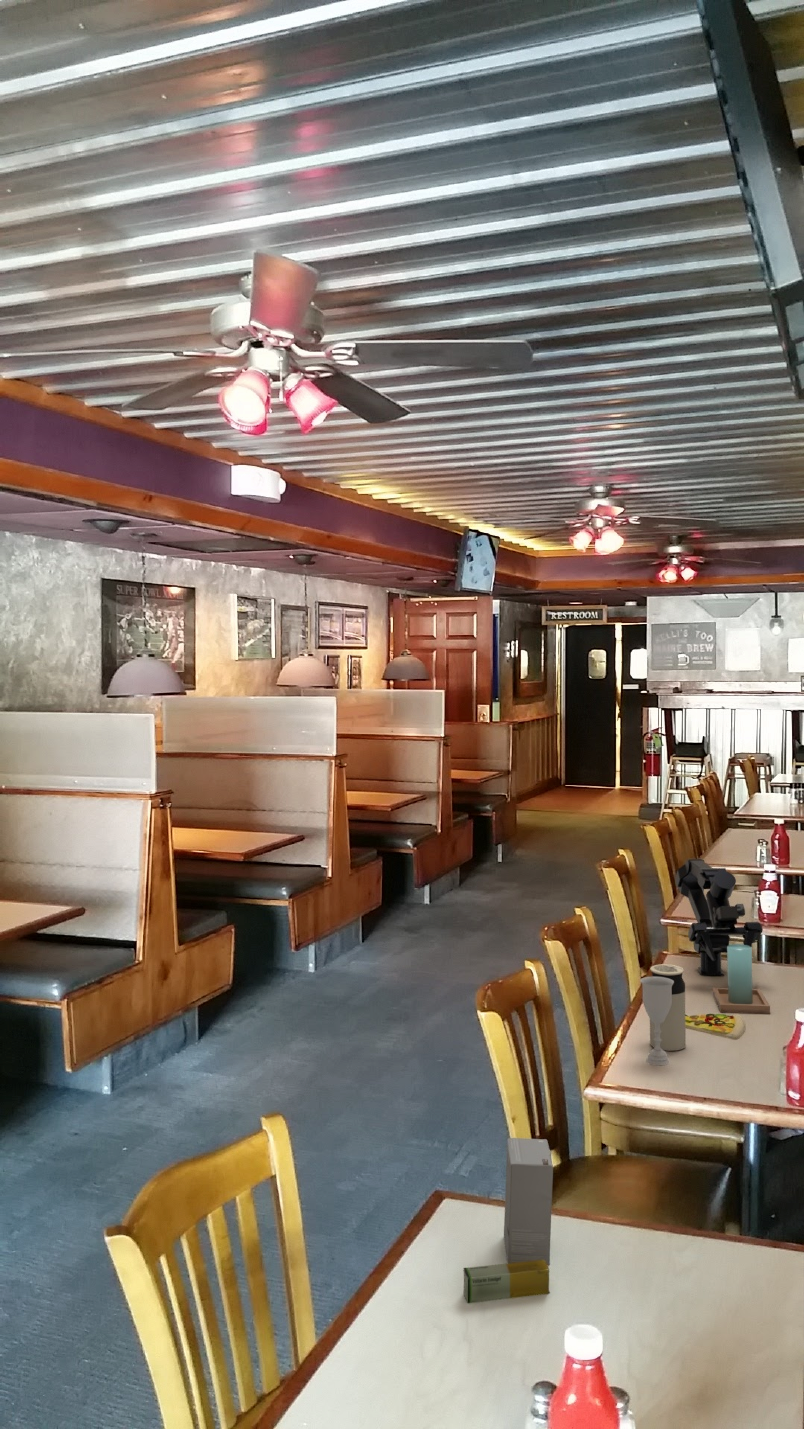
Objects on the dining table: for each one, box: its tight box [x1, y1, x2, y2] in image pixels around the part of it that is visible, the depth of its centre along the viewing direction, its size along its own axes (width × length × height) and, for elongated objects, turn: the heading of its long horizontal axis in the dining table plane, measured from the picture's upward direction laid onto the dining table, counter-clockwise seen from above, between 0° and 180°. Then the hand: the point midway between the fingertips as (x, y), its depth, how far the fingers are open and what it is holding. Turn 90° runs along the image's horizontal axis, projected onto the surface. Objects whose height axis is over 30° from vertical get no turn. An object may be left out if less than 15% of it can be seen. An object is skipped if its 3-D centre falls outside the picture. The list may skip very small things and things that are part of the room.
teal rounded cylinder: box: [726, 943, 754, 1004], centre depth 270 cm, size 6×6×14 cm
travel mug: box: [649, 963, 687, 1052], centre depth 242 cm, size 8×8×18 cm
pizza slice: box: [685, 1013, 746, 1040], centre depth 256 cm, size 16×21×3 cm
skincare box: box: [503, 1137, 554, 1266], centre depth 158 cm, size 8×7×16 cm
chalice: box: [639, 976, 674, 1066], centre depth 233 cm, size 7×7×18 cm
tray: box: [712, 987, 771, 1015], centre depth 270 cm, size 14×12×2 cm
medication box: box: [462, 1260, 551, 1304], centre depth 148 cm, size 12×3×4 cm, turn 100°
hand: (731, 959), depth 278 cm, fingers open, 9 cm apart
